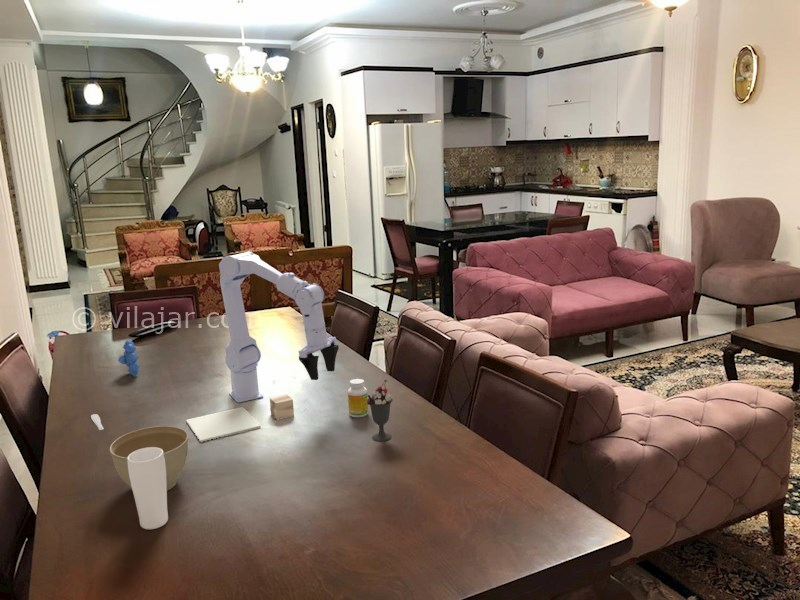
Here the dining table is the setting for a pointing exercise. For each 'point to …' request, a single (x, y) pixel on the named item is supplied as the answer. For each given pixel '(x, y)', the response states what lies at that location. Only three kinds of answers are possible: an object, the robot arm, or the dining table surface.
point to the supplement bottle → (357, 398)
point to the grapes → (130, 358)
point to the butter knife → (97, 421)
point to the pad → (222, 424)
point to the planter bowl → (160, 437)
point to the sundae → (380, 411)
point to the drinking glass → (149, 486)
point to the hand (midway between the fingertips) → (322, 375)
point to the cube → (281, 406)
